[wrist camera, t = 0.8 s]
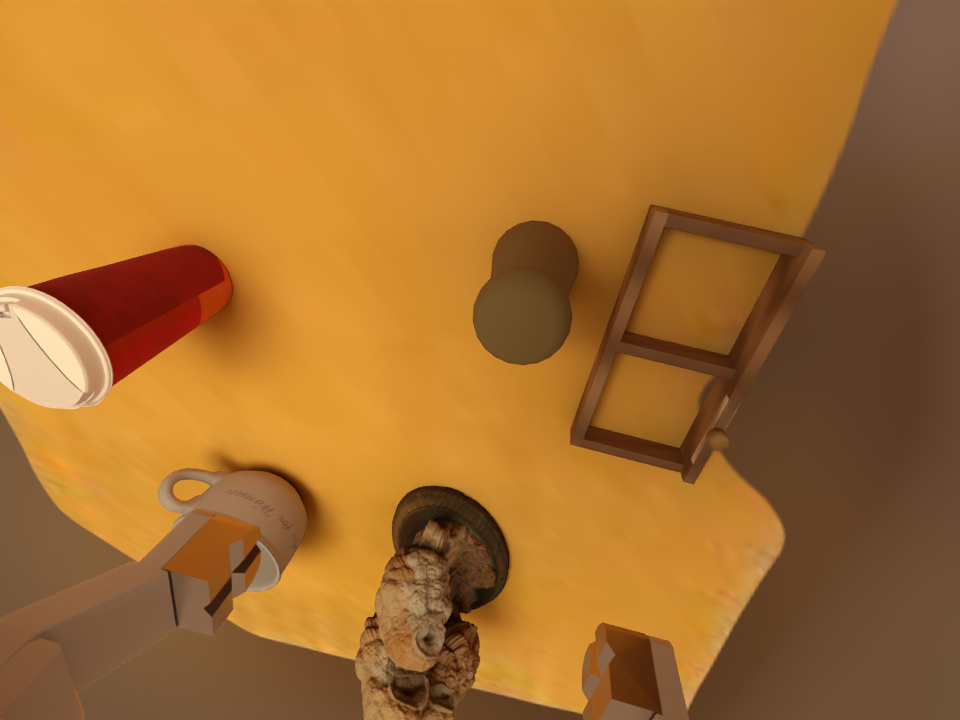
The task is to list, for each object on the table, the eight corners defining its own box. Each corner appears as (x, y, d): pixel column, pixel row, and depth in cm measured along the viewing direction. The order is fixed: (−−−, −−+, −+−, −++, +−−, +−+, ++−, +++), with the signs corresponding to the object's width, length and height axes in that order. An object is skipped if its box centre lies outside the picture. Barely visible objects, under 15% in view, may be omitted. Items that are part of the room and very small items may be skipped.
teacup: (339, 520, 49) (301, 587, 43) (265, 538, 53) (219, 603, 46) (258, 418, 44) (200, 476, 38) (184, 446, 48) (118, 504, 41)
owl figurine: (525, 604, 51) (505, 808, 36) (426, 602, 54) (370, 789, 40) (488, 480, 43) (441, 676, 28) (373, 486, 46) (279, 666, 32)
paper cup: (141, 233, 37) (-69, 296, 25) (225, 227, 35) (46, 292, 23) (179, 323, 41) (12, 417, 28) (258, 322, 39) (117, 420, 27)
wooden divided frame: (650, 204, 30) (661, 217, 26) (807, 239, 29) (839, 257, 25) (570, 429, 39) (570, 461, 35) (688, 459, 38) (699, 494, 35)
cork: (578, 303, 33) (580, 383, 24) (495, 305, 35) (465, 382, 25) (578, 217, 31) (581, 269, 21) (488, 223, 32) (452, 274, 22)
